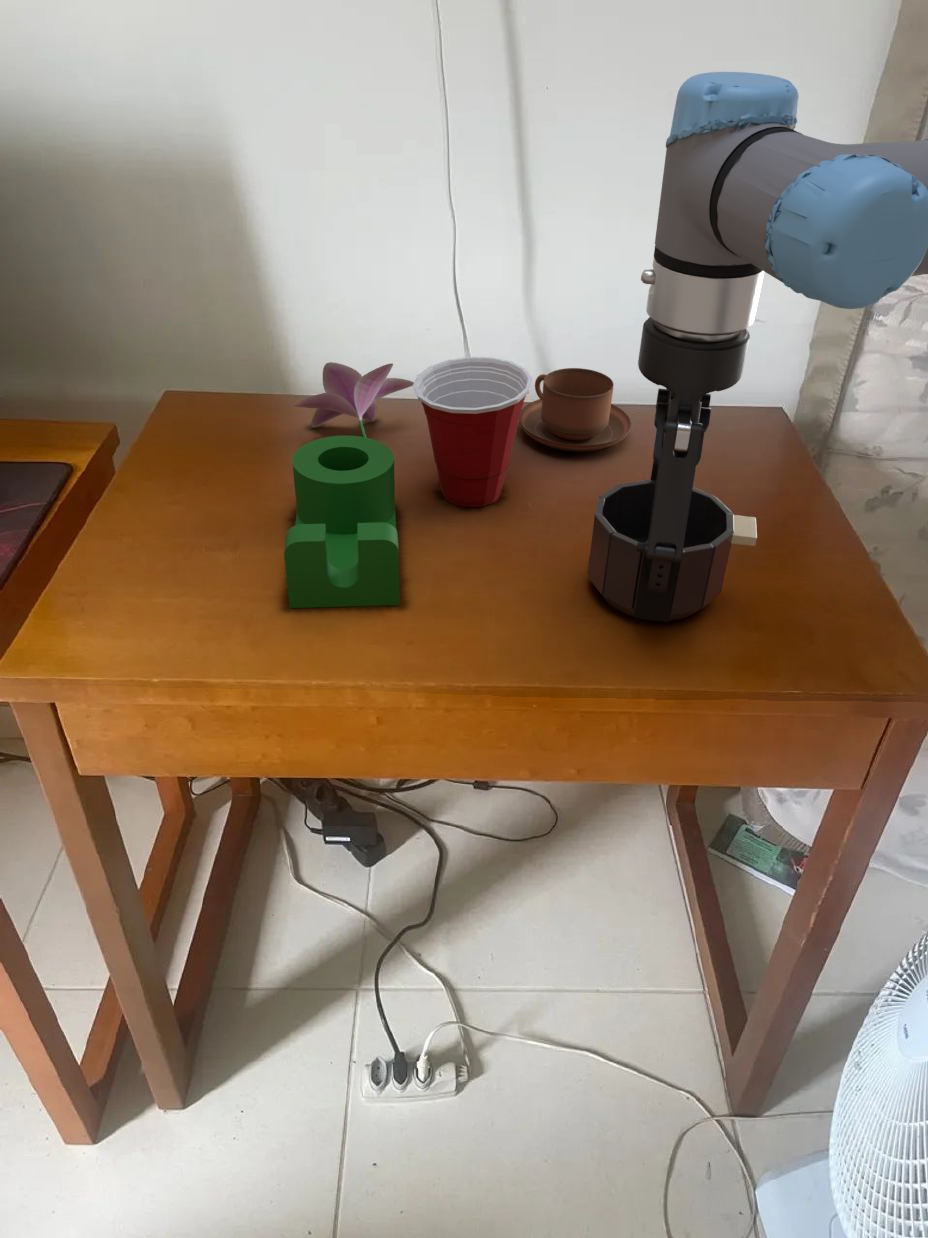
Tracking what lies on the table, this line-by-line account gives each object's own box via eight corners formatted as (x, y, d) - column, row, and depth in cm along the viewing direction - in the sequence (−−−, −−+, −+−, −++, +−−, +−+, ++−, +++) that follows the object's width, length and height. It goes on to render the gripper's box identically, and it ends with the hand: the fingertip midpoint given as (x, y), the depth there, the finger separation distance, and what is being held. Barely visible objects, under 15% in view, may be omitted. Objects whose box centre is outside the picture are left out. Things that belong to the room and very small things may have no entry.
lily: (432, 436, 108) (409, 349, 106) (412, 444, 96) (386, 345, 94) (330, 463, 110) (305, 378, 108) (299, 473, 98) (271, 378, 96)
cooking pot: (582, 603, 79) (589, 541, 76) (595, 532, 88) (602, 473, 84) (743, 626, 77) (759, 563, 74) (740, 551, 86) (754, 491, 82)
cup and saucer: (498, 443, 104) (501, 389, 101) (547, 402, 113) (551, 351, 109) (602, 472, 100) (609, 416, 96) (645, 427, 108) (653, 374, 105)
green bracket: (300, 496, 95) (295, 436, 91) (393, 494, 95) (392, 434, 91) (289, 608, 80) (282, 541, 76) (399, 604, 81) (398, 539, 77)
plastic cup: (396, 478, 98) (394, 363, 91) (494, 458, 102) (499, 347, 94) (440, 532, 90) (442, 411, 83) (544, 508, 94) (554, 391, 87)
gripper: (652, 263, 80) (620, 491, 93) (633, 387, 60) (596, 654, 73) (746, 271, 79) (701, 501, 92) (757, 400, 59) (698, 669, 72)
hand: (654, 570), depth 82 cm, fingers open, 13 cm apart
